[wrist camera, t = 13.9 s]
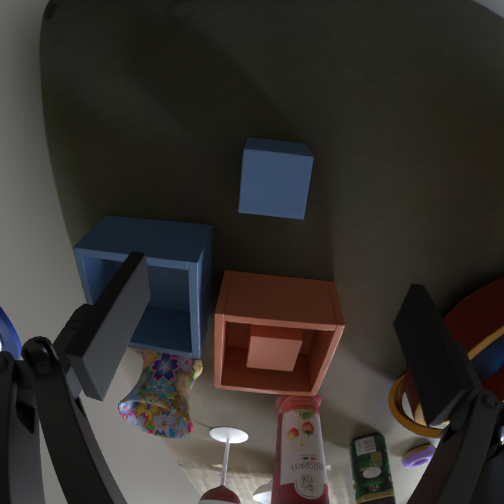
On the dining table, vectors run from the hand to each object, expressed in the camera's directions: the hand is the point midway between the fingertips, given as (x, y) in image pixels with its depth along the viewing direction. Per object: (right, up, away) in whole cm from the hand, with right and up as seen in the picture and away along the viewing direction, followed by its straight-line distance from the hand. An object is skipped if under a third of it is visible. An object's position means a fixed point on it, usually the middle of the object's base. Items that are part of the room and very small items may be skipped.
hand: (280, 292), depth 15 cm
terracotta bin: (+1, -5, +21) cm, 21 cm away
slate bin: (-11, 0, +18) cm, 21 cm away
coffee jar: (+23, -38, +38) cm, 59 cm away
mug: (-12, -14, +26) cm, 32 cm away
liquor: (+6, -20, +29) cm, 35 cm away
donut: (+41, -49, +43) cm, 77 cm away
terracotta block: (+1, -6, +20) cm, 21 cm away
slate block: (+1, +9, +12) cm, 15 cm away
